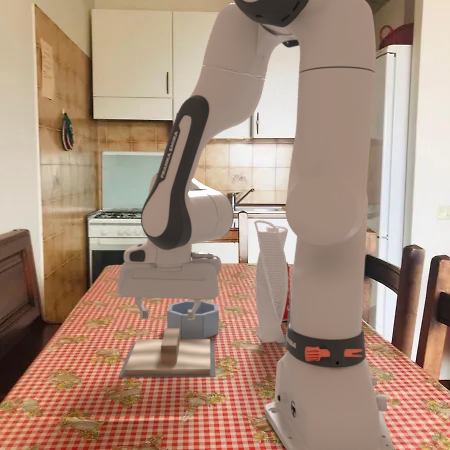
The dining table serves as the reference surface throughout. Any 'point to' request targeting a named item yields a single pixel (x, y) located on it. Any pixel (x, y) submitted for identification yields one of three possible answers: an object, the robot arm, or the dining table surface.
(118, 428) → the dining table surface
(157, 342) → the cover board
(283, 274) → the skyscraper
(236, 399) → the dining table surface
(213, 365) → the rubber mat
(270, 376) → the dining table surface
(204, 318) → the bowl
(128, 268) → the robot arm
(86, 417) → the dining table surface
